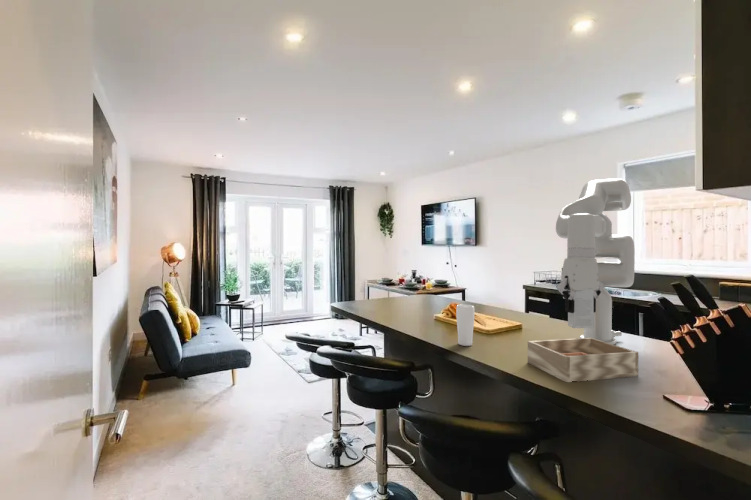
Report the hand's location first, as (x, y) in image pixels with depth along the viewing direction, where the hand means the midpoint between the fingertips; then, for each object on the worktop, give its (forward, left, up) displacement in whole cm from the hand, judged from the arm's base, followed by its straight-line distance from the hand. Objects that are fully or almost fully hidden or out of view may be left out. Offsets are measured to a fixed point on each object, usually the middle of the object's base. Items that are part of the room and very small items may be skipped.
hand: (580, 311), depth 116 cm
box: (0, 0, -18) cm, 18 cm away
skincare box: (0, 0, -5) cm, 5 cm away
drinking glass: (+22, -34, -18) cm, 44 cm away
